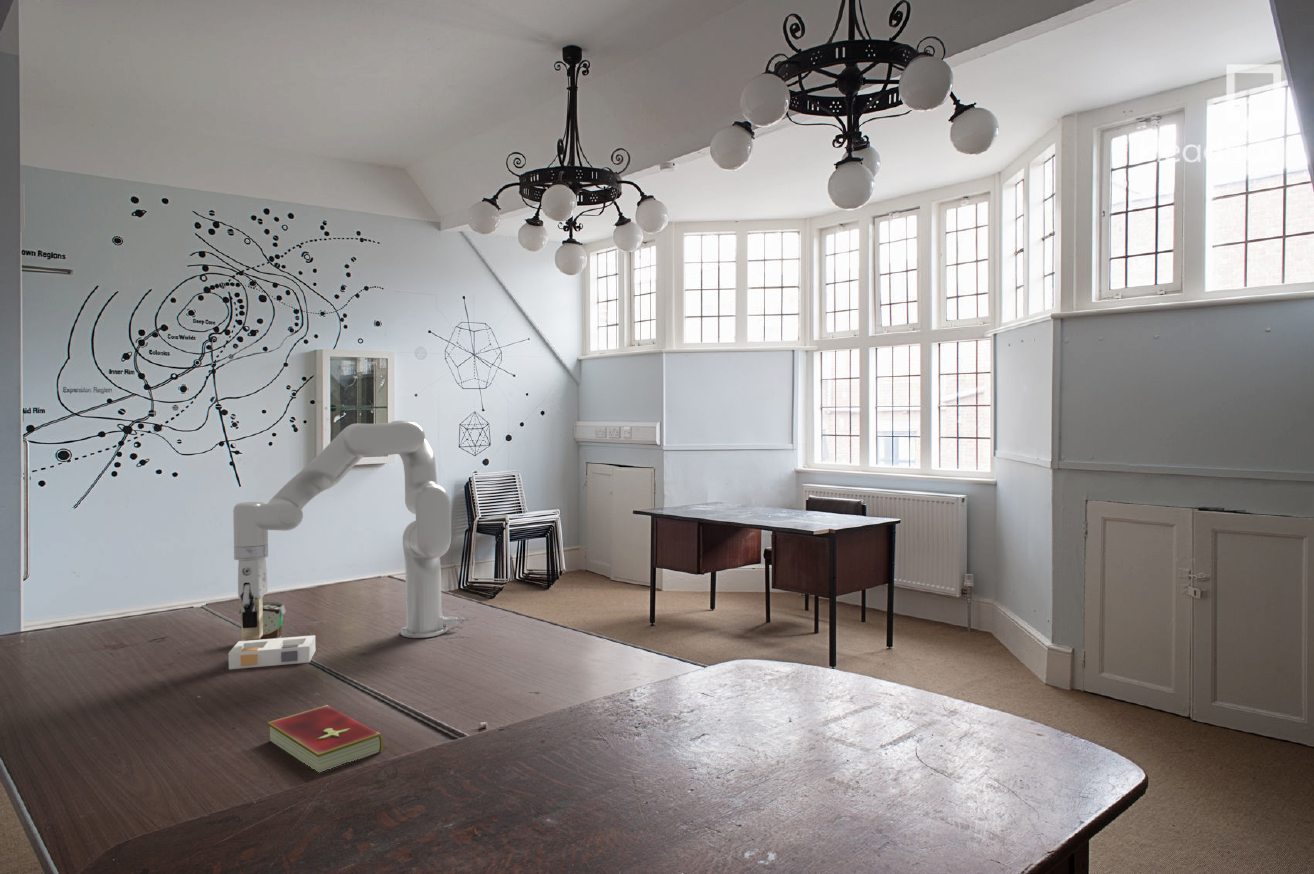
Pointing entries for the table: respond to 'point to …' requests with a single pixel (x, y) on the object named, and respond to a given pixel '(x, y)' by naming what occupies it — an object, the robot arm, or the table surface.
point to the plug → (258, 631)
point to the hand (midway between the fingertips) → (252, 624)
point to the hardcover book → (324, 738)
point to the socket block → (272, 652)
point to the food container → (271, 620)
